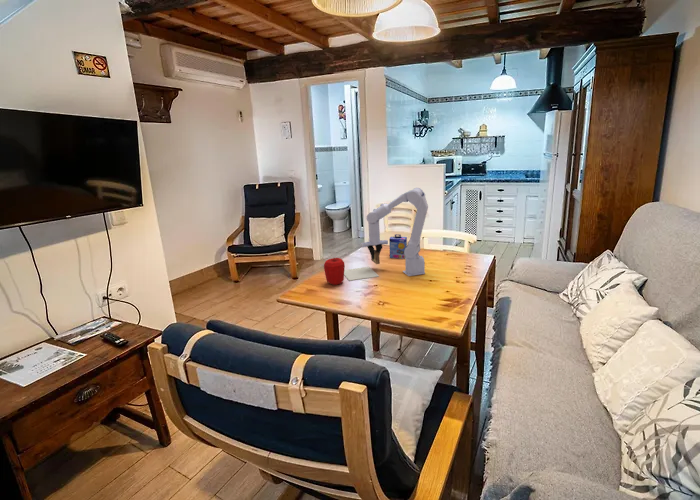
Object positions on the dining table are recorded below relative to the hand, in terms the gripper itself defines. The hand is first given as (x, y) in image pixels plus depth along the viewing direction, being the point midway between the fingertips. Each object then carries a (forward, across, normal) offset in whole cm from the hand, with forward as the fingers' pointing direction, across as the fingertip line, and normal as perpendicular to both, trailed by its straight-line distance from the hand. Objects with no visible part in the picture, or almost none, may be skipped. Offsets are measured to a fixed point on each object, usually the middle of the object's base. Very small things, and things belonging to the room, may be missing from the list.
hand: (375, 258), depth 208 cm
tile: (+2, 0, 0) cm, 2 cm away
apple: (+7, +25, +11) cm, 28 cm away
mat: (+6, +10, +3) cm, 12 cm away
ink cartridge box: (+7, -20, -16) cm, 26 cm away
